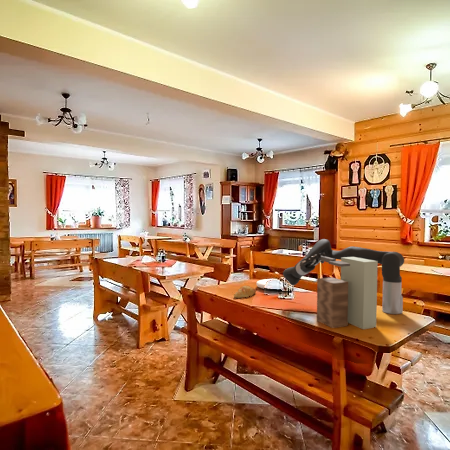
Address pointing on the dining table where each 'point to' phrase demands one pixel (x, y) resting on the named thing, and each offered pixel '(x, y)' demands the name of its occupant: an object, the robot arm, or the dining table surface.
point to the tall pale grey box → (361, 291)
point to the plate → (263, 283)
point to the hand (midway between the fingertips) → (322, 254)
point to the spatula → (333, 261)
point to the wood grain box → (332, 302)
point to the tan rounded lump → (245, 292)
